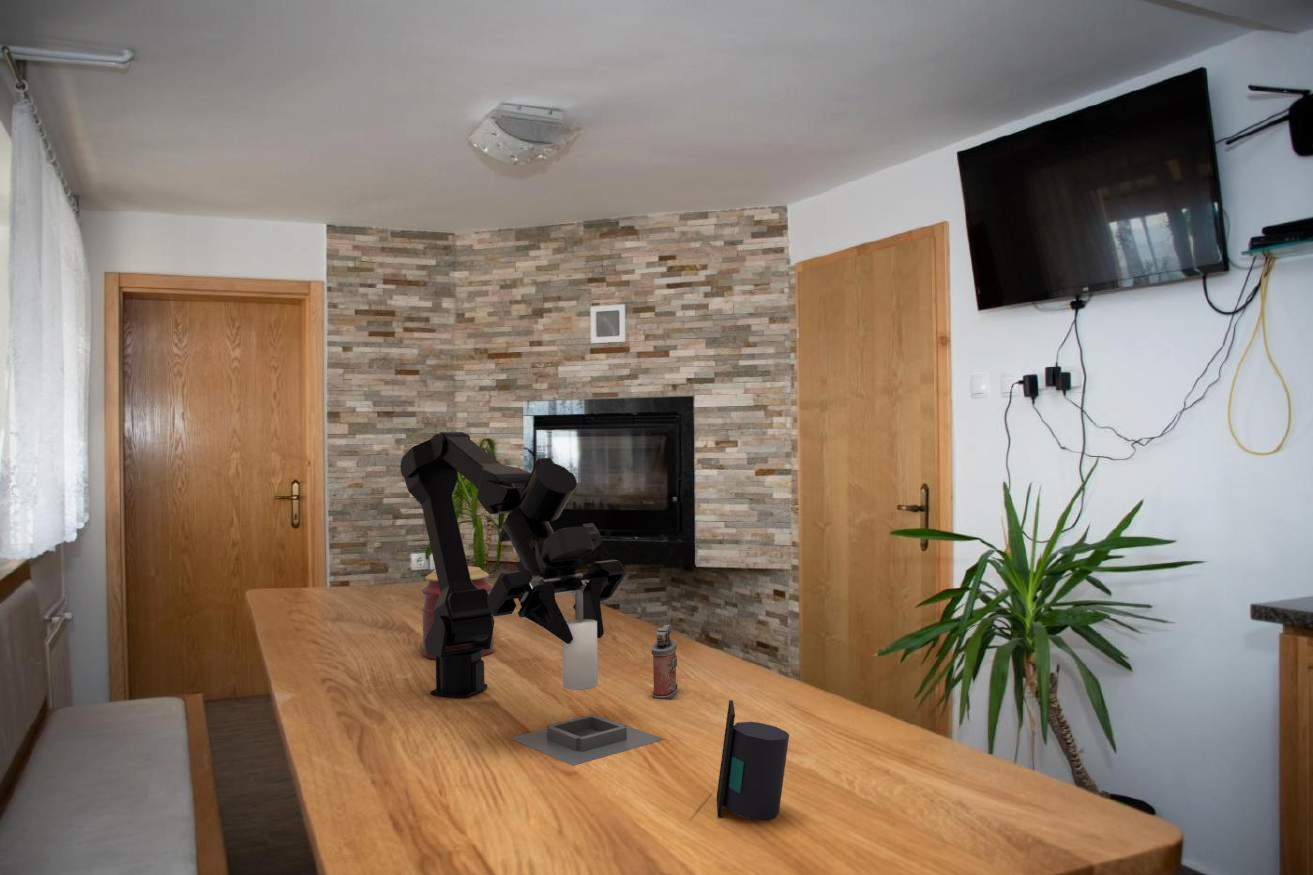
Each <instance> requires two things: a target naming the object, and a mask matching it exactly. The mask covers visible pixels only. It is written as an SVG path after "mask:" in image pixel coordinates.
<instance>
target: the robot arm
mask: <svg viewBox="0 0 1313 875" xmlns="http://www.w3.org/2000/svg"><path fill="white" fill-rule="evenodd" d="M399 467H400V472H401V475H402V477H403V479H404V481H405V486H406V489H407V491H408V493H409V494H410V495H411V496H412V497H413V498H414V499H415V500H416V501H417V502H418V503H419V504H420V505H421V508H422V513H423V518H424V522H425V526H426V531H427V535H428V536H427V537H428V541H429V545H430V549H431V551H430V552H431V554H432V559H433V560H432V561H433V563H434V570H435V569H436V574H437V579H438V583H439V588H440V594H439V597H438V600H437V602H436V605H435V608H434V620H435V621H434V623H433V625H432V627H431V628H430V630H429V632H428V634H427V636H426V638H425V645H426V651H427V653H428V654H431V655H434V656H436V659H435V688H434V689H432V690H430V692H429V694H430V696H442V697H452V698H453V697H456V698H469V697H471V696H473V695H475V694H477V693H480V692H481V691H483V690H485V689H488V684H487V683H485V660H483V659H482V657H483V656H481V650H485V649H486V650H488V649H490V645H491V640H492V634H493V635H494V628H495V620H494V619H495V617H500V616H508V615H512V614H513V613H514V611H515V610H516V608H517V603H516V601H515V599H518V602H520V603H519V604H520V608H519V610H518V611H517V616H518V617H519V618H526V619H527V620H530V621H532V623H534V624H536V625H538V626H539V627H541V628H543V629H545V631H548V632H549V633H550V634H552V635H553V636H555V637H556V638H558V639H559V640H561V641H564V642H565V643H567V644H570V643H571V642H572V640H573V637H572V634H571V631H570V629H569V627H568V625H567V623H566V621H567V620H566V619H565V617H564V615H563V612H562V611H561V609H560V607H559V605H558V603H557V601H556V595H560V594H566V593H572V594H573V596H574V597H575V593H576V592H577V591H582V592H583V619H591V620H596V621H597V639H601V638H602V637H603V636H604V634H605V630H604V623H603V617H602V616H603V615H602V610H601V609H602V607H601V601H606V600H608V599H610V598H611V597H612V596H613V594H614V593H615V592H616V590H617V589H618V588H619V585H620V584H621V583H622V581H623V579H624V578H625V577H626V575H627V574H628V573H627V571H626V570H625V568H624V565H623V564H622V562H621V561H620V560H616V559H609V560H601V561H600V560H599V561H593V563H592V564H591V566H590V567H589V569H588V570H587V572H586V573H584V574H583V573H582V572H581V573H577V572H576V570H577V569H580V568H581V566H582V565H583V560H582V559H581V558H582V557H584V556H585V555H587V554H588V553H592V552H594V551H595V549H596V548H598V547H599V546H601V544H602V536H601V533H600V531H599V529H598V528H597V527H596V525H595V523H594V522H589V523H582V525H581V526H574V527H573V526H572V527H564V528H560V529H558V530H556V531H554V529H553V528H552V526H551V524H550V522H553V521H556V520H558V518H560V516H561V515H562V512H563V510H564V509H565V507H566V506H567V503H569V500H570V498H571V496H572V494H573V493H574V491H575V490H576V487H577V485H578V484H577V478H576V476H575V474H573V472H571V471H569V470H568V469H566V467H564V466H562V465H561V464H558V463H556V462H555V463H554V461H553V459H552V458H551V457H539V458H537V459H536V461H535V463H534V465H533V469H532V471H531V472H530V471H527V470H524V469H522V468H520V467H516V466H510V465H506V464H503V463H501V462H499V461H498V460H497V459H496V458H495V457H493V456H492V455H491V454H490V453H488V451H486V450H485V449H483V448H482V447H481V446H479V445H478V444H476V442H474V441H473V440H471V437H470V435H469V434H468V433H465V432H463V431H441V432H440V431H439V432H438V433H436V434H434V435H433V436H432V437H431V438H430V439H427V440H425V441H423V442H421V443H418V444H416V445H414V446H412V447H411V448H410V449H409V450H408V451H407V452H406V453H405V454H404V455H403V456H402V458H401V460H400V466H399ZM459 474H460V475H461V476H463V477H464V478H465V479H466V480H467V481H468V482H470V483H471V484H472V485H473V486H474V487H475V488H476V490H477V494H476V498H477V500H478V502H479V503H480V504H481V506H482V507H483V508H484V509H485V511H486V512H487V513H488V514H490V515H500V514H507V517H506V518H505V519H504V521H503V522H502V526H501V530H500V531H499V538H498V539H499V542H511V545H512V547H513V548H514V550H515V553H516V554H517V556H518V558H519V561H518V562H517V563H516V564H517V565H516V568H517V570H514V571H507V572H500V574H499V576H498V578H497V580H496V581H495V583H494V584H493V585H492V586H493V588H492V590H491V592H490V594H489V596H488V593H487V591H486V590H485V589H484V588H483V589H478V588H477V587H476V586H475V585H474V584H473V583H472V581H471V577H470V573H469V569H468V566H469V565H468V560H467V556H466V552H465V551H466V550H465V547H464V542H463V539H462V533H461V529H460V525H459V520H458V517H457V512H456V508H455V504H454V503H455V502H454V499H453V495H454V492H455V489H456V486H457V484H458V482H459ZM572 608H573V610H575V603H574V604H573V606H572Z"/></svg>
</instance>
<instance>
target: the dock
mask: <svg viewBox="0 0 1313 875" xmlns="http://www.w3.org/2000/svg"><path fill="white" fill-rule="evenodd" d="M509 739H511V740H512V741H514V742H517V743H519V744H521V745H524V746H526V747H528V748H530V749H533V750H535V751H537V752H540V753H542V754H545V755H547V756H549V757H551V758H554V759H557V761H558V760H559V761H561V762H564V763H566V764H567V765H570V766H572V767H573V766H578V765H581V764H584V763H588V762H592V761H595V760H599V759H602V758H606V757H610V756H612V755H616V754H619V753H625V752H627V751H631V750H634V749H638V748H640V747H644V746H648V745H653V744H654V743H659V742H662V741H665V740H666V738H663V737H661V736H658V735H656V734H655V735H654V734H653V733H652V734H651V733H649V732H646V731H643V730H640V729H637V728H634V727H632V726H628V725H626V724H623V723H621V722H617V721H614V720H611V719H609V718H605V717H602V716H600V715H592V714H589V715H586V716H581V717H577V718H574V719H573V718H572V719H569V720H565V721H560V722H557V723H552V724H548V725H546V728H544V729H540V730H537V731H536V730H535V731H532V732H528V733H524V734H520V735H515V736H511V737H509Z"/></svg>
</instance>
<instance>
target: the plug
mask: <svg viewBox="0 0 1313 875" xmlns="http://www.w3.org/2000/svg"><path fill="white" fill-rule="evenodd" d="M574 599H575V600H574V604H575V609H574V611H575V614H574V616H575V619H568V620H567V619H566V620H565V621H566V623H567V625H568V627H569V629H570V631H571V634H572V637H573V640H572V642H571V643H570V644H567V643H565V642H564V641H562V640H561V641H562V644H561V646H562V686H563V688H564V689H566V690H569V691H570V690H572V691H583V690H584V691H585V690H586V691H587V690H590V689H594V688H597V687H598V686H599V674H598V673H599V667H598V665H599V664H598V662H599V661H598V660H599V659H598V658H599V657H598V638H597V621H596V620H591V619H583V592H582V591H577V592H576V593H575V596H574Z"/></svg>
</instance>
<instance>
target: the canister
mask: <svg viewBox="0 0 1313 875" xmlns="http://www.w3.org/2000/svg"><path fill="white" fill-rule="evenodd" d="M468 569H469V573H470V577H471V581H472V583H473V584H474V585H475V586H476V587H477V588H478V589H483V588H484V589H485V590H486V591H487V593H488V596H489V594H490V592H491V590H492V588H493V586H494V585H493V584H491V583H490V582H488V580H487V578H488V577H489V576H490V575H489V573H488V572H486V571H485V570H483V569H482V568H481V567H478V566H471V565H470V566H469V565H468ZM425 580H426V581H427V584H426V585H424V587H423V588H421V590H420V592H421V594H422V595H423V606H422V607H421V612H422V641H421V645H422V646H421V648H422V651H423V656H424V657H426V658H428V659H432V660H436V656H434V655H431V654H428V653H427V651H426V645H425V638H426V636H427V634H428V632H429V630H430V628H431V627H432V625H433V623H434V621H435V620H434V608H435V605H436V602H437V600H438V597H439V594H440V588H439V583H438V579H437V574H436V569H435V568H434V570H432V572H431V573H429V574H427V575H426V576H425ZM494 645H495V636H494V633H493V634H492V640H491V645H490V649H488V650H486V649H485V650H481V656H482V657H483V656H487V655H489V654H491V653H492V652H493V651H494Z"/></svg>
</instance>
